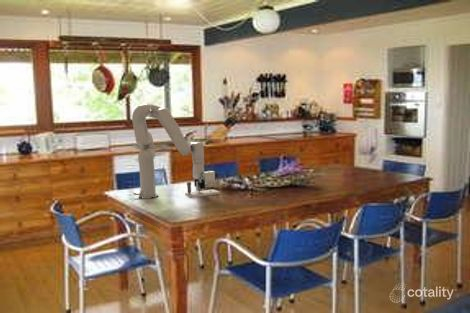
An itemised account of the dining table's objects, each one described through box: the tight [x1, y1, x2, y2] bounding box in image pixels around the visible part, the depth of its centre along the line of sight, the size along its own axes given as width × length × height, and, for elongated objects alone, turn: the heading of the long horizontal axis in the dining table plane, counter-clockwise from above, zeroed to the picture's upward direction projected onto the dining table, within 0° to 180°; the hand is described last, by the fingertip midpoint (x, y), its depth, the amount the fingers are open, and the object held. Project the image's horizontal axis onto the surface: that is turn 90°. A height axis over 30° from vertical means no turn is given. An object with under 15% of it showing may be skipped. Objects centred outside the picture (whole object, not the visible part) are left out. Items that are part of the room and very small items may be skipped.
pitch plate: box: [184, 181, 221, 199], centre depth 323 cm, size 20×10×9 cm, turn 116°
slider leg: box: [195, 180, 204, 192], centre depth 323 cm, size 3×3×7 cm
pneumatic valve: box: [201, 169, 218, 188], centre depth 349 cm, size 6×12×12 cm, turn 113°
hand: (199, 187), depth 323 cm, fingers open, 9 cm apart
